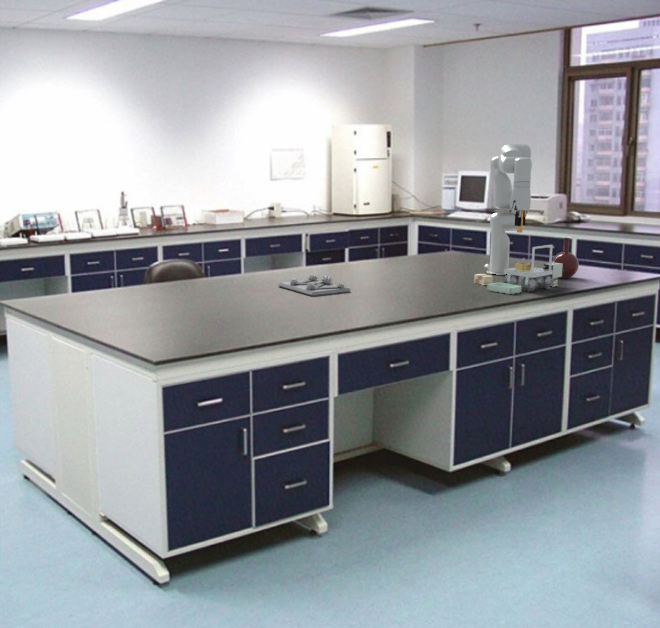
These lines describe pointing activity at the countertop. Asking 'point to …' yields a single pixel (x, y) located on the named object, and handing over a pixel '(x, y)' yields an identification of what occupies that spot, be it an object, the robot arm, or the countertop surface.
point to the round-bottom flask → (567, 260)
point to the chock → (483, 279)
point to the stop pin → (519, 228)
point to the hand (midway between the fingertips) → (519, 225)
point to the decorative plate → (315, 286)
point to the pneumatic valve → (555, 272)
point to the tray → (504, 288)
